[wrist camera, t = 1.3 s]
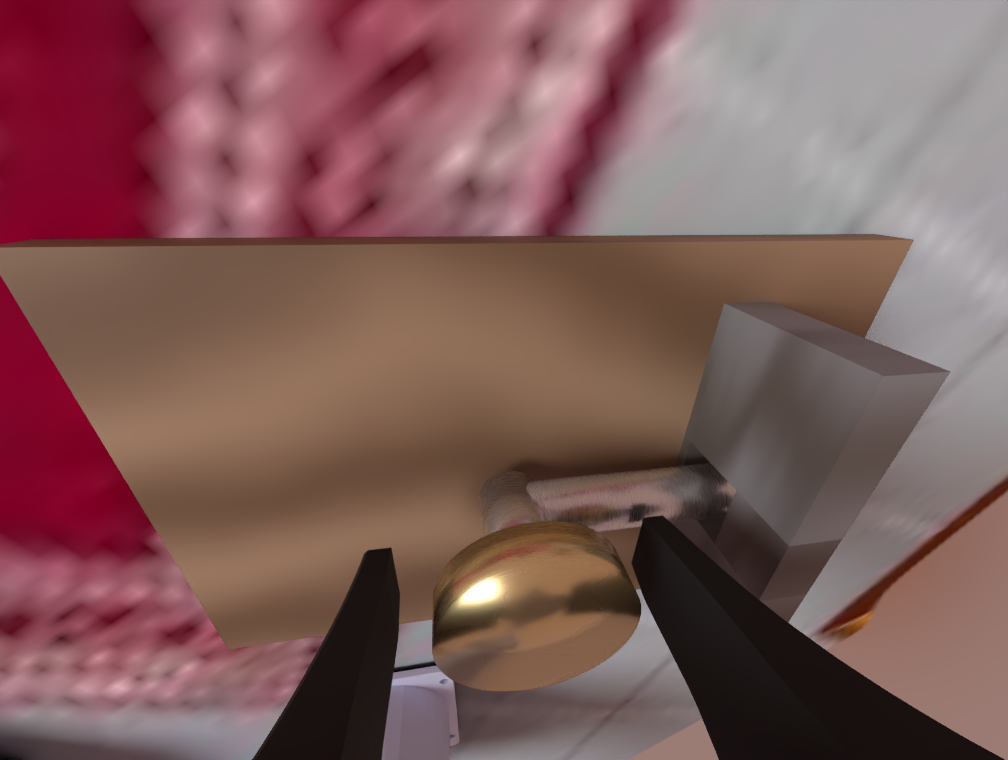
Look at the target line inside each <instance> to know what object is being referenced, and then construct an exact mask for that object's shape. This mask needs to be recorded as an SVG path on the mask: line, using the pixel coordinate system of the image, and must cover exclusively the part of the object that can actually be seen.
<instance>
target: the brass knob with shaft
mask: <svg viewBox="0 0 1008 760" xmlns="http://www.w3.org/2000/svg"><path fill="white" fill-rule="evenodd" d="M735 493H736V490H735V488H734V487H733V486H732V485H731V484H730V483H729V482H728V481H727V480H726V479H725V478H724V477H723V476H722V475H721V474H720V472H719V471H718V470H717V469H716V468H715V467H714V466H713V465H712V464H711V463H707V464H697V465H687V466H677V467H667V468H657V469H647V470H637V471H627V472H617V473H606V474H596V475H586V476H576V477H566V478H556V479H546V480H536V481H534V480H533V479H532V478H531V477H530V476H529V475H527V474H525V473H522V472H518V471H507V472H502V473H499V474H497V475H494V476H493V477H491V478H490V479H488V480H487V481H486V482H485V483H484V484H483V486H482V487H481V489H480V492H479V501H480V509H481V517H482V525H483V532H484V537H482V538H480V539H478V540H477V541H475V542H473V543H471V544H470V545H468V546H467V547H466V548H464V549H463V550H461V551H460V552H459V553H458V554H457V555H455V556H454V557H453V558H452V559H451V560H450V561H449V562H448V564H447V565H446V566H445V567H444V568H443V570H442V571H441V573H440V575H439V576H438V578H437V581H436V583H435V586H434V591H433V632H432V654H433V658H434V661H435V663H436V665H437V667H438V668H439V669H440V670H441V672H442V673H443V674H444V675H446V676H447V677H448V678H450V679H451V680H453V681H455V682H457V683H459V684H461V685H464V686H467V687H471V688H475V689H479V690H486V691H521V690H529V689H535V688H540V687H545V686H549V685H552V684H556V683H559V682H562V681H565V680H568V679H571V678H573V677H575V676H578V675H580V674H582V673H584V672H586V671H588V670H590V669H592V668H594V667H596V666H597V665H599V664H601V663H602V662H604V661H605V660H607V659H608V658H610V657H611V656H612V655H613V654H615V653H616V652H617V651H618V650H619V649H620V648H621V647H622V646H623V645H624V644H625V643H626V642H627V641H628V640H629V638H630V637H631V636H632V634H633V633H634V631H635V629H636V628H637V625H638V623H639V620H640V615H641V603H640V599H639V597H638V595H637V592H636V590H635V588H634V586H633V584H632V582H631V580H630V578H629V576H628V573H627V571H626V569H625V567H624V565H623V563H622V561H621V559H620V557H619V555H618V552H617V551H616V549H615V547H614V545H613V544H612V543H611V542H610V540H608V539H607V538H606V537H605V536H604V535H602V534H601V533H599V532H602V531H611V530H619V529H627V528H635V527H641V525H642V521H643V518H645V517H653V516H661V515H663V516H664V517H665V518H666V519H667V520H669V521H670V522H671V523H676V522H684V521H693V520H701V519H709V518H717V517H725V516H726V514H727V512H728V509H729V507H730V505H731V502H732V500H733V497H734V495H735Z"/></svg>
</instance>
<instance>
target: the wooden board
mask: <svg viewBox="0 0 1008 760" xmlns="http://www.w3.org/2000/svg"><path fill="white" fill-rule="evenodd" d="M912 242H913V240H911V239H904V238H897V237H890V236H883V235H876V234H841V235H667V236H494V237H320V238H146V239H33V240H27V241H21V242H15V243H9V244H3V245H0V275H1V277H2V278H3V280H4V282H5V283H6V285H7V287H8V288H9V290H10V292H11V293H12V295H13V296H14V298H15V300H16V301H17V303H18V305H19V306H20V308H21V310H22V311H23V313H24V315H25V316H26V318H27V319H28V321H29V323H30V324H31V326H32V328H33V329H34V331H35V333H36V334H37V336H38V337H39V339H40V341H41V342H42V344H43V346H44V347H45V349H46V351H47V352H48V354H49V356H50V357H51V359H52V360H53V362H54V364H55V365H56V367H57V369H58V370H59V372H60V374H61V375H62V377H63V379H64V380H65V382H66V383H67V385H68V387H69V388H70V390H71V392H72V393H73V395H74V397H75V398H76V400H77V402H78V403H79V405H80V406H81V408H82V410H83V411H84V413H85V415H86V416H87V418H88V420H89V421H90V423H91V425H92V426H93V428H94V429H95V431H96V433H97V434H98V436H99V438H100V439H101V441H102V443H103V444H104V446H105V448H106V449H107V451H108V452H109V454H110V456H111V457H112V459H113V461H114V462H115V464H116V466H117V467H118V469H119V470H120V472H121V474H122V475H123V477H124V479H125V480H126V482H127V484H128V485H129V487H130V489H131V490H132V492H133V493H134V495H135V497H136V498H137V500H138V502H139V503H140V505H141V507H142V508H143V510H144V512H145V513H146V515H147V516H148V518H149V520H150V521H151V523H152V525H153V526H154V528H155V530H156V531H157V533H158V535H159V536H160V538H161V539H162V541H163V543H164V544H165V546H166V548H167V549H168V551H169V553H170V554H171V556H172V558H173V559H174V561H175V562H176V564H177V566H178V567H179V569H180V571H181V572H182V574H183V576H184V577H185V579H186V581H187V582H188V584H189V585H190V587H191V589H192V590H193V592H194V594H195V595H196V597H197V599H198V600H199V602H200V603H201V605H202V607H203V608H204V610H205V612H206V613H207V615H208V617H209V618H210V620H211V622H212V623H213V625H214V626H215V628H216V630H217V631H218V633H219V635H220V636H221V638H222V640H223V641H224V643H225V645H226V646H227V648H228V649H233V648H240V647H247V646H254V645H261V644H267V643H274V642H281V641H288V640H295V639H302V638H308V637H315V636H322V635H327V633H328V631H329V629H330V627H331V625H332V623H333V621H334V619H335V617H336V615H337V614H338V612H339V610H340V608H341V605H342V603H343V601H344V599H345V597H346V595H347V593H348V591H349V588H350V586H351V584H352V582H353V580H354V577H355V575H356V573H357V570H358V568H359V565H360V563H361V560H362V558H363V555H364V553H365V552H366V551H368V550H374V549H382V548H392V553H393V559H394V564H395V569H396V575H397V580H398V585H399V591H400V610H399V624H404V623H411V622H418V621H424V620H431V619H433V591H434V586H435V583H436V581H437V578H438V576H439V575H440V573H441V571H442V570H443V568H444V567H445V566H446V565H447V564H448V562H449V561H450V560H451V559H452V558H453V557H454V556H455V555H457V554H458V553H459V552H460V551H461V550H463V549H464V548H466V547H467V546H468V545H470V544H471V543H473V542H475V541H477V540H478V539H480V538H482V537H484V532H483V525H482V517H481V509H480V501H479V492H480V489H481V487H482V486H483V484H484V483H485V482H486V481H487V480H488V479H490V478H491V477H493V476H494V475H497V474H499V473H502V472H507V471H518V472H522V473H525V474H527V475H529V476H530V477H531V478H532V479H533V480H534V481H536V480H546V479H556V478H566V477H576V476H586V475H596V474H606V473H617V472H627V471H637V470H647V469H657V468H667V467H677V466H687V465H697V464H707V463H711V464H712V465H713V466H714V467H715V468H716V469H717V470H718V471H719V472H720V474H721V475H722V476H723V477H724V478H725V479H726V480H727V481H728V482H729V483H730V484H731V485H732V486H733V487H734V488H735V490H736V493H735V495H734V497H733V500H732V502H731V505H730V507H729V509H728V512H727V514H726V516H725V517H717V518H709V519H701V520H693V521H684V522H676V523H672V524H673V525H674V526H675V527H676V528H677V529H679V530H680V531H681V532H682V533H683V534H684V535H685V536H686V537H687V538H688V539H689V540H691V541H692V542H693V543H694V544H695V545H696V546H697V547H698V548H699V549H701V550H702V551H703V552H704V553H705V554H706V555H707V556H708V557H709V558H711V559H712V560H713V561H714V562H715V563H716V564H717V565H718V566H720V567H721V568H722V569H723V570H724V571H725V572H726V573H728V574H729V575H730V576H731V577H732V578H733V579H735V580H736V581H737V582H738V583H739V584H740V585H742V586H743V587H744V588H745V589H746V590H748V591H749V592H750V593H751V594H752V595H754V596H755V597H756V598H757V599H759V600H760V601H761V602H762V603H764V604H765V605H766V606H767V607H769V608H770V609H771V610H772V611H774V612H775V613H776V614H777V615H779V616H780V617H781V618H783V619H784V620H785V621H787V622H789V620H790V619H791V617H792V616H793V614H794V612H795V611H796V609H797V608H798V606H799V605H800V603H801V602H802V600H803V599H804V597H805V596H806V594H807V592H808V591H809V589H810V588H811V586H812V585H813V583H814V582H815V580H816V579H817V577H818V575H819V574H820V572H821V571H822V569H823V568H824V566H825V565H826V563H827V562H828V560H829V558H830V557H831V555H832V554H833V552H834V551H835V549H836V548H837V546H838V545H839V543H840V541H841V540H842V538H843V537H844V535H845V534H846V532H847V531H848V529H849V528H850V526H851V524H852V523H853V521H854V520H855V518H856V517H857V515H858V514H859V512H860V511H861V509H862V508H863V506H864V504H865V503H866V501H867V500H868V498H869V497H870V495H871V494H872V492H873V491H874V489H875V487H876V486H877V484H878V483H879V481H880V480H881V478H882V477H883V475H884V474H885V472H886V470H887V469H888V467H889V466H890V464H891V463H892V461H893V460H894V458H895V457H896V455H897V453H898V452H899V450H900V449H901V447H902V446H903V444H904V443H905V441H906V440H907V438H908V437H909V435H910V433H911V432H912V430H913V429H914V427H915V426H916V424H917V423H918V421H919V420H920V418H921V416H922V415H923V413H924V412H925V410H926V409H927V407H928V406H929V404H930V403H931V401H932V399H933V398H934V396H935V395H936V393H937V392H938V390H939V389H940V387H941V386H942V384H943V382H944V381H945V379H946V378H947V376H948V375H949V373H950V371H947V370H945V369H942V368H940V367H937V366H935V365H932V364H929V363H927V362H924V361H922V360H919V359H917V358H914V357H911V356H909V355H906V354H904V353H901V352H899V351H896V350H893V349H891V348H888V347H886V346H883V345H881V344H878V343H875V342H873V341H870V340H868V339H865V336H866V334H867V332H868V330H869V328H870V326H871V324H872V322H873V320H874V318H875V316H876V314H877V312H878V310H879V308H880V306H881V304H882V302H883V300H884V298H885V296H886V294H887V292H888V290H889V288H890V286H891V284H892V282H893V280H894V278H895V276H896V274H897V272H898V270H899V268H900V266H901V264H902V262H903V260H904V258H905V256H906V254H907V252H908V250H909V248H910V246H911V244H912ZM640 529H641V527H635V528H627V529H619V530H611V531H602V532H599V533H601V534H602V535H604V536H605V537H606V538H607V539H608V540H610V542H611V543H612V544H613V545H614V547H615V549H616V551H617V552H618V555H619V557H620V559H621V561H622V563H623V565H624V567H625V569H626V571H627V573H628V576H629V578H630V580H631V582H632V584H633V586H634V588H635V590H636V589H640V586H639V583H638V581H637V578H636V575H635V572H634V569H633V567H632V564H631V562H632V558H633V555H634V551H635V547H636V544H637V540H638V536H639V532H640Z"/></svg>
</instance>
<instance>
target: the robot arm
mask: <svg viewBox="0 0 1008 760" xmlns="http://www.w3.org/2000/svg"><path fill="white" fill-rule="evenodd" d="M631 564H632V567H633V569H634V572H635V575H636V578H637V581H638V583H639V586H640V589H641V591H642V594H643V596H644V599H645V601H646V603H647V605H648V607H649V609H650V611H651V613H652V615H653V617H654V619H655V621H656V623H657V625H658V627H659V629H660V631H661V633H662V635H663V637H664V639H665V641H666V643H667V645H668V647H669V649H670V651H671V653H672V655H673V657H674V659H675V661H676V663H677V665H678V667H679V669H680V671H681V673H682V675H683V677H684V679H685V681H686V683H687V685H688V687H689V689H690V691H691V694H692V696H693V698H694V700H695V702H696V704H697V707H698V709H699V711H700V714H701V716H702V719H703V721H704V724H705V726H706V729H707V731H708V733H709V736H710V738H711V741H712V743H713V746H714V748H715V750H716V753H717V756H718V758H719V760H1004V759H1003V758H1001V757H999V756H997V755H995V754H994V753H992V752H990V751H988V750H986V749H984V748H982V747H981V746H979V745H977V744H975V743H973V742H972V741H970V740H968V739H966V738H964V737H963V736H961V735H959V734H957V733H956V732H954V731H952V730H951V729H949V728H947V727H946V726H944V725H942V724H940V723H939V722H937V721H935V720H934V719H932V718H930V717H929V716H927V715H925V714H924V713H922V712H920V711H918V710H917V709H915V708H914V707H912V706H910V705H909V704H907V703H906V702H904V701H902V700H901V699H899V698H897V697H896V696H894V695H892V694H891V693H889V692H888V691H886V690H885V689H883V688H881V687H880V686H879V685H877V684H875V683H874V682H872V681H871V680H869V679H868V678H866V677H864V676H863V675H861V674H860V673H859V672H857V671H856V670H854V669H852V668H851V667H849V666H848V665H846V664H845V663H844V662H842V661H840V660H839V659H837V658H836V657H835V656H833V655H832V654H830V653H829V652H828V651H826V650H825V649H823V648H822V647H821V646H819V645H818V644H817V643H815V642H814V641H812V640H811V639H810V638H808V637H807V636H805V635H804V634H803V633H801V632H800V631H799V630H797V629H796V628H794V627H793V626H792V625H790V624H789V623H788V622H787V621H785V620H784V619H783V618H781V617H780V616H779V615H777V614H776V613H775V612H774V611H772V610H771V609H770V608H769V607H767V606H766V605H765V604H764V603H762V602H761V601H760V600H759V599H757V598H756V597H755V596H754V595H752V594H751V593H750V592H749V591H748V590H746V589H745V588H744V587H743V586H742V585H740V584H739V583H738V582H737V581H736V580H735V579H733V578H732V577H731V576H730V575H729V574H728V573H726V572H725V571H724V570H723V569H722V568H721V567H720V566H718V565H717V564H716V563H715V562H714V561H713V560H712V559H711V558H709V557H708V556H707V555H706V554H705V553H704V552H703V551H702V550H701V549H699V548H698V547H697V546H696V545H695V544H694V543H693V542H692V541H691V540H689V539H688V538H687V537H686V536H685V535H684V534H683V533H682V532H681V531H680V530H679V529H677V528H676V527H675V526H674V525H673V524H672V523H671V522H670V521H669V520H667V519H666V518H665V517H664V516H663V515H661V516H653V517H645V518H643V521H642V525H641V529H640V532H639V536H638V540H637V544H636V547H635V551H634V555H633V558H632V562H631ZM399 610H400V591H399V585H398V580H397V575H396V569H395V564H394V559H393V553H392V548H382V549H374V550H368V551H366V552H365V553H364V555H363V558H362V560H361V563H360V565H359V568H358V570H357V573H356V575H355V577H354V580H353V582H352V584H351V586H350V588H349V591H348V593H347V595H346V597H345V599H344V601H343V603H342V605H341V608H340V610H339V612H338V614H337V615H336V617H335V619H334V621H333V623H332V625H331V627H330V629H329V631H328V633H327V635H326V637H325V639H324V641H323V643H322V645H321V646H320V648H319V650H318V652H317V654H316V655H315V657H314V659H313V661H312V663H311V664H310V666H309V668H308V670H307V671H306V673H305V675H304V677H303V678H302V680H301V682H300V684H299V686H298V687H297V689H296V691H295V692H294V694H293V696H292V697H291V699H290V701H289V702H288V704H287V706H286V707H285V709H284V711H283V712H282V714H281V716H280V717H279V719H278V720H277V722H276V724H275V725H274V727H273V728H272V730H271V731H270V733H269V735H268V736H267V738H266V739H265V741H264V742H263V744H262V745H261V747H260V749H259V750H258V752H257V753H256V755H255V756H254V758H253V759H252V760H450V746H454V745H456V744H458V742H459V729H458V718H457V707H456V697H455V686H454V681H453V680H451V679H450V678H448V677H447V676H446V675H444V674H443V673H442V672H441V670H440V669H439V668H438V667H437V665H436V666H430V667H424V668H418V669H412V670H406V671H400V672H393V671H394V664H395V657H396V650H397V642H398V631H399Z"/></svg>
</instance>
